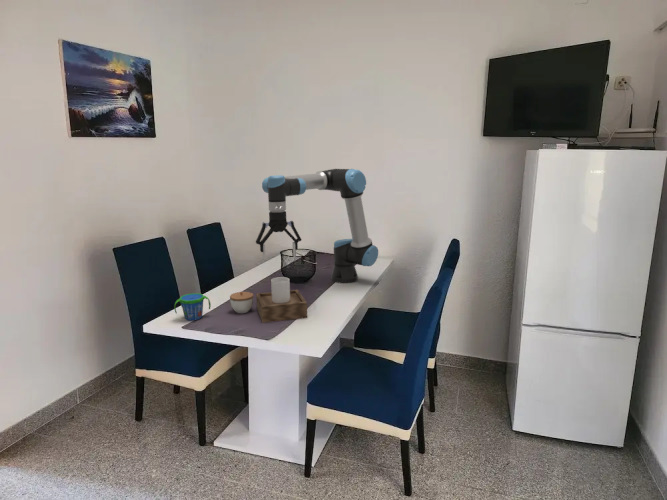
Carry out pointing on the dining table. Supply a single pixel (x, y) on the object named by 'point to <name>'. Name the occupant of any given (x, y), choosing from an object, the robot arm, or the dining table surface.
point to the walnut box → (281, 307)
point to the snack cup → (192, 305)
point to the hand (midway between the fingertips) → (279, 257)
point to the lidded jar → (241, 301)
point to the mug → (280, 290)
